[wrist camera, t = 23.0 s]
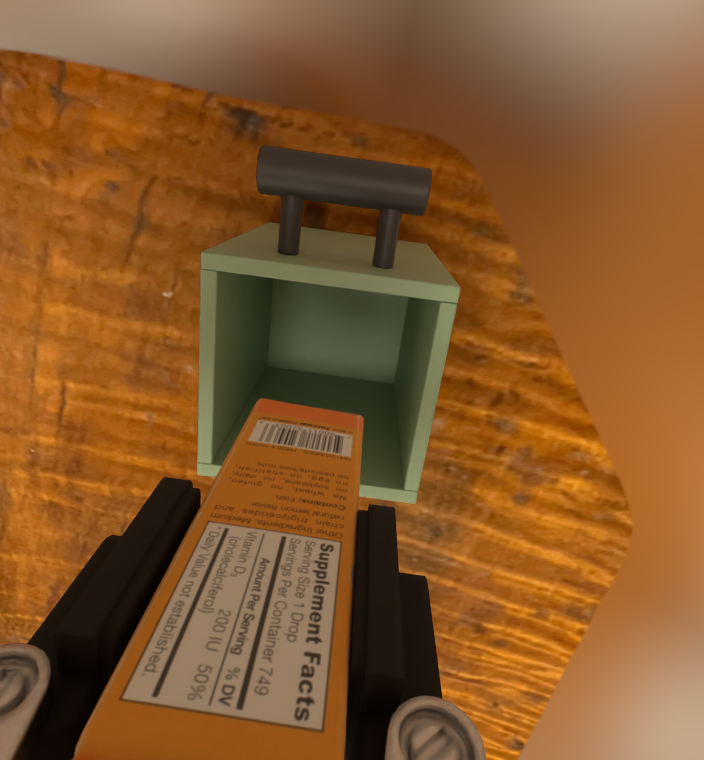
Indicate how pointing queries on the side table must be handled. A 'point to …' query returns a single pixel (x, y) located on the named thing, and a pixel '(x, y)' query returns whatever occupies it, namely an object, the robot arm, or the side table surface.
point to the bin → (328, 317)
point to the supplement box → (249, 608)
